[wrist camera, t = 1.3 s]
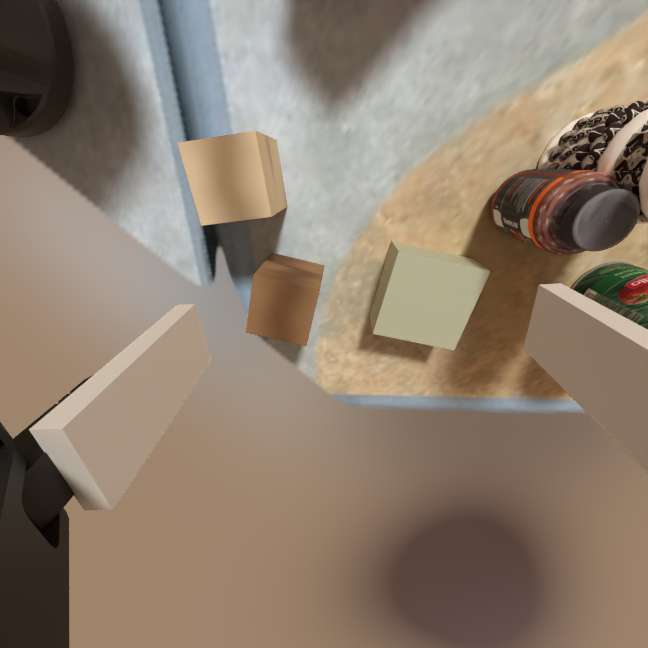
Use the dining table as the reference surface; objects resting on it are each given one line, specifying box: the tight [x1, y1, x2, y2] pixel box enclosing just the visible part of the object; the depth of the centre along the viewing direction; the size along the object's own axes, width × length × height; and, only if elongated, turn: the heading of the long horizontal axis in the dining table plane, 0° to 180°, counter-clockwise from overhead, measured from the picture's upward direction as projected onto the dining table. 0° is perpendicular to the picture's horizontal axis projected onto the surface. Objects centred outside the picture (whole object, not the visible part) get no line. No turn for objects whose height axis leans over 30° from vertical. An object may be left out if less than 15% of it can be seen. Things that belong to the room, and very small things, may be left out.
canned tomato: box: [571, 262, 648, 329], centre depth 30 cm, size 8×8×11 cm
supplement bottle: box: [491, 169, 640, 255], centre depth 25 cm, size 6×6×11 cm
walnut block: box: [246, 253, 324, 346], centre depth 32 cm, size 6×6×8 cm
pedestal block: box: [370, 241, 491, 350], centre depth 33 cm, size 9×9×5 cm
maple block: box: [178, 131, 287, 226], centre depth 28 cm, size 6×6×8 cm
